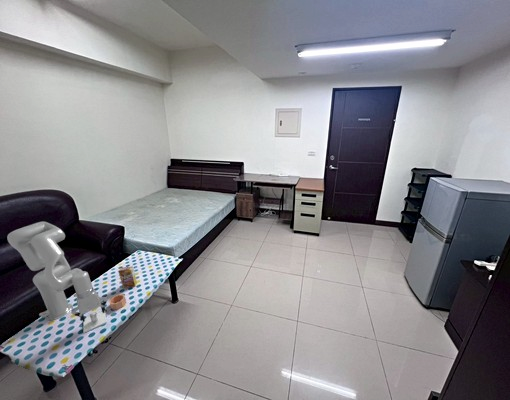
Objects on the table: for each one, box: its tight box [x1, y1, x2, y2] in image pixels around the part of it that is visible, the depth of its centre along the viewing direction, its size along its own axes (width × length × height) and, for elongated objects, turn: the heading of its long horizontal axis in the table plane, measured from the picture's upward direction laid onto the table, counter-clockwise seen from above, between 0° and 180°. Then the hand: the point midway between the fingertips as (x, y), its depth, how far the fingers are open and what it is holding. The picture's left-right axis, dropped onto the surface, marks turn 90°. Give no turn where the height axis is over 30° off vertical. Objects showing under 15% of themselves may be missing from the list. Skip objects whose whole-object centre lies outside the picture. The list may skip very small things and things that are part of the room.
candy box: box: [118, 266, 138, 289], centre depth 159 cm, size 9×4×15 cm, turn 98°
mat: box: [84, 323, 107, 334], centre depth 131 cm, size 10×12×1 cm
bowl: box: [108, 293, 127, 311], centre depth 143 cm, size 9×9×5 cm
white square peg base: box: [83, 310, 108, 334], centre depth 130 cm, size 11×11×6 cm
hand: (94, 315), depth 129 cm, fingers open, 9 cm apart
